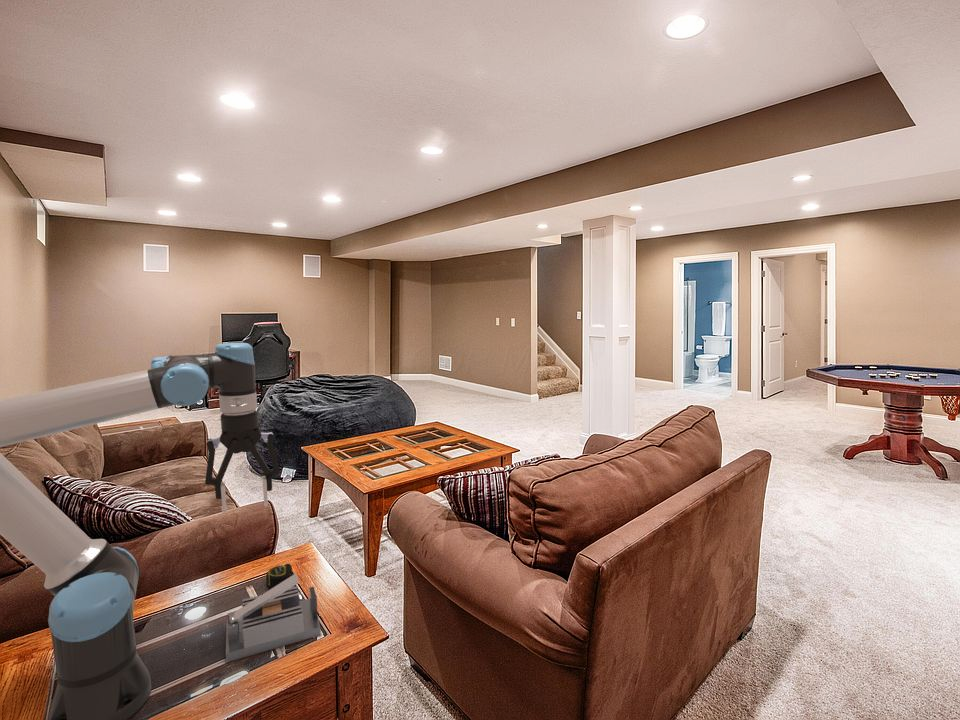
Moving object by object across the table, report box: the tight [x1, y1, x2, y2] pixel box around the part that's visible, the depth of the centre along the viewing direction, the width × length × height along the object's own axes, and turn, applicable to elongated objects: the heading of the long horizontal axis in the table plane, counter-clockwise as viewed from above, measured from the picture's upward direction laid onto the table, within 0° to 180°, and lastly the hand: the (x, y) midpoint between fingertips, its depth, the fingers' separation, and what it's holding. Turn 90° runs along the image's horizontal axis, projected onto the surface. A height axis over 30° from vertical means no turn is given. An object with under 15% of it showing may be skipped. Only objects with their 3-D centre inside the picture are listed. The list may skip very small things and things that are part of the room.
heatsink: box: [225, 585, 322, 663], centre depth 112 cm, size 19×12×7 cm, turn 116°
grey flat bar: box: [229, 572, 300, 625], centre depth 111 cm, size 16×3×1 cm, turn 113°
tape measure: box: [265, 563, 295, 589], centre depth 132 cm, size 7×7×4 cm
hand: (245, 507), depth 115 cm, fingers open, 8 cm apart
